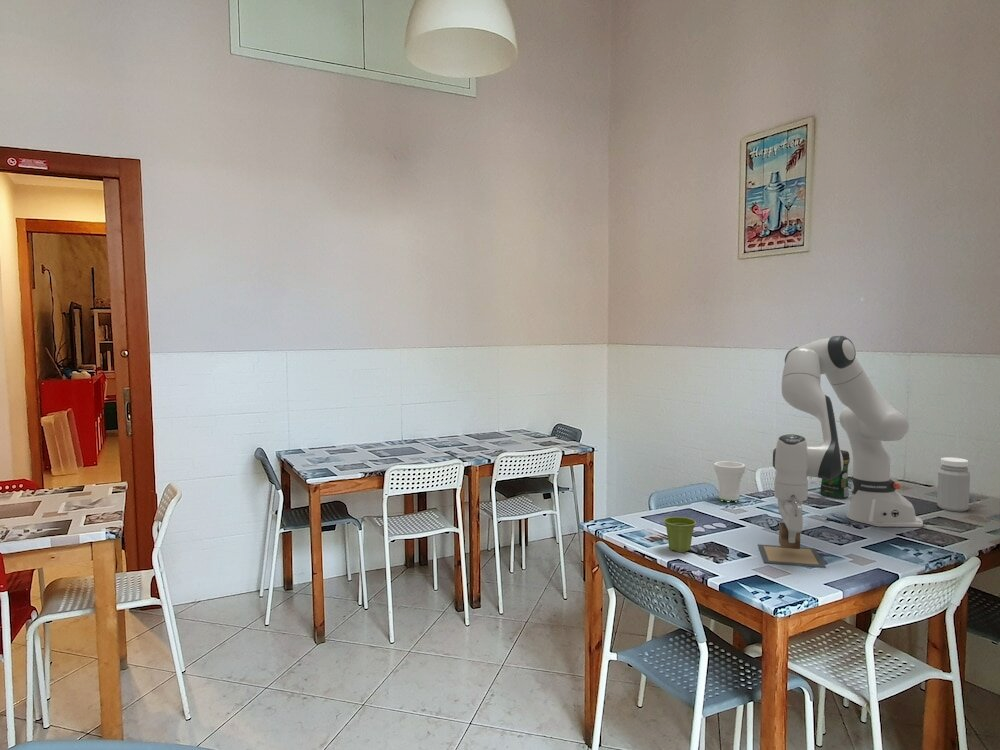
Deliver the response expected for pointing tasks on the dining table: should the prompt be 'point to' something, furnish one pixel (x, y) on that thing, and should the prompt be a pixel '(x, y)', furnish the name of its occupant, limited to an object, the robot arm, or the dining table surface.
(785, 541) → the walnut block
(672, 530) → the plant pot
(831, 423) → the robot arm
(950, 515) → the dining table surface
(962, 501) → the jar
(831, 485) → the coffee jar
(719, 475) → the cup
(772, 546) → the coaster mat
